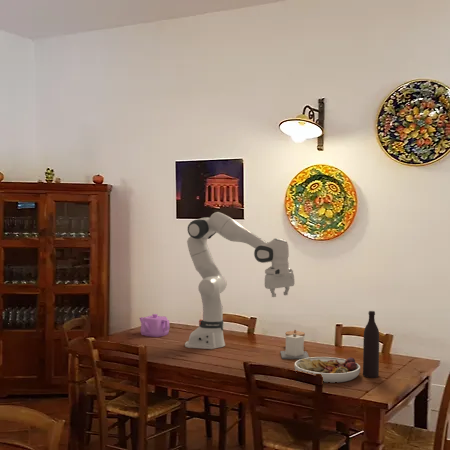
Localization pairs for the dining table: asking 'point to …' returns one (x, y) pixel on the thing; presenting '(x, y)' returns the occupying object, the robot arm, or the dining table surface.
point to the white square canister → (294, 345)
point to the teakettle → (154, 326)
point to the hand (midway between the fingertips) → (279, 296)
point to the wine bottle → (371, 348)
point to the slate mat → (285, 356)
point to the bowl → (330, 368)
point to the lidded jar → (295, 333)
